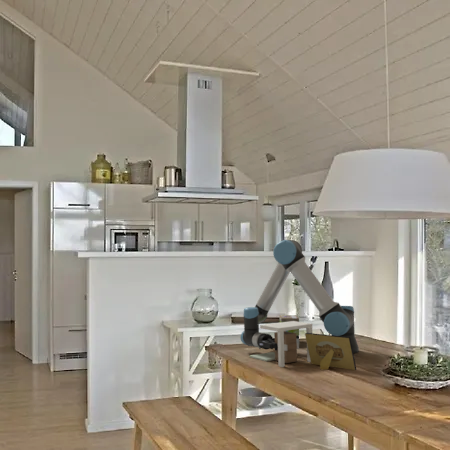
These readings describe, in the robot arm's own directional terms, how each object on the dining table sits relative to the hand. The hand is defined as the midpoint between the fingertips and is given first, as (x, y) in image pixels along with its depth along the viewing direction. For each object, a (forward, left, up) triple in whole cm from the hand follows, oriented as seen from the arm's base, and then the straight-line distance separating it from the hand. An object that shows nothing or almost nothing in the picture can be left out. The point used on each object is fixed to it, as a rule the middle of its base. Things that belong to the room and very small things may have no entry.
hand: (292, 346), depth 284 cm
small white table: (+3, -2, -8) cm, 8 cm away
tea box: (+21, -51, -8) cm, 55 cm away
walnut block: (+4, -3, -7) cm, 9 cm away
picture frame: (-19, +4, -8) cm, 21 cm away
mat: (+16, -9, -8) cm, 20 cm away
